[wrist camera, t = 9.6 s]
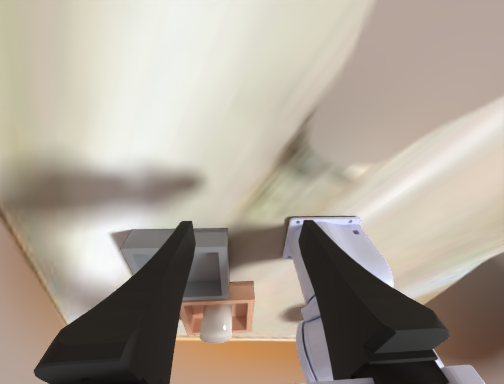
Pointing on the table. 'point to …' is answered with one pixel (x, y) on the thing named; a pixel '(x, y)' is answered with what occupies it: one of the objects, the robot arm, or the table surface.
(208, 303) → the dump bin
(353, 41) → the table surface
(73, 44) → the table surface
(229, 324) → the white rounded cylinder
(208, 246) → the bin
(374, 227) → the table surface
